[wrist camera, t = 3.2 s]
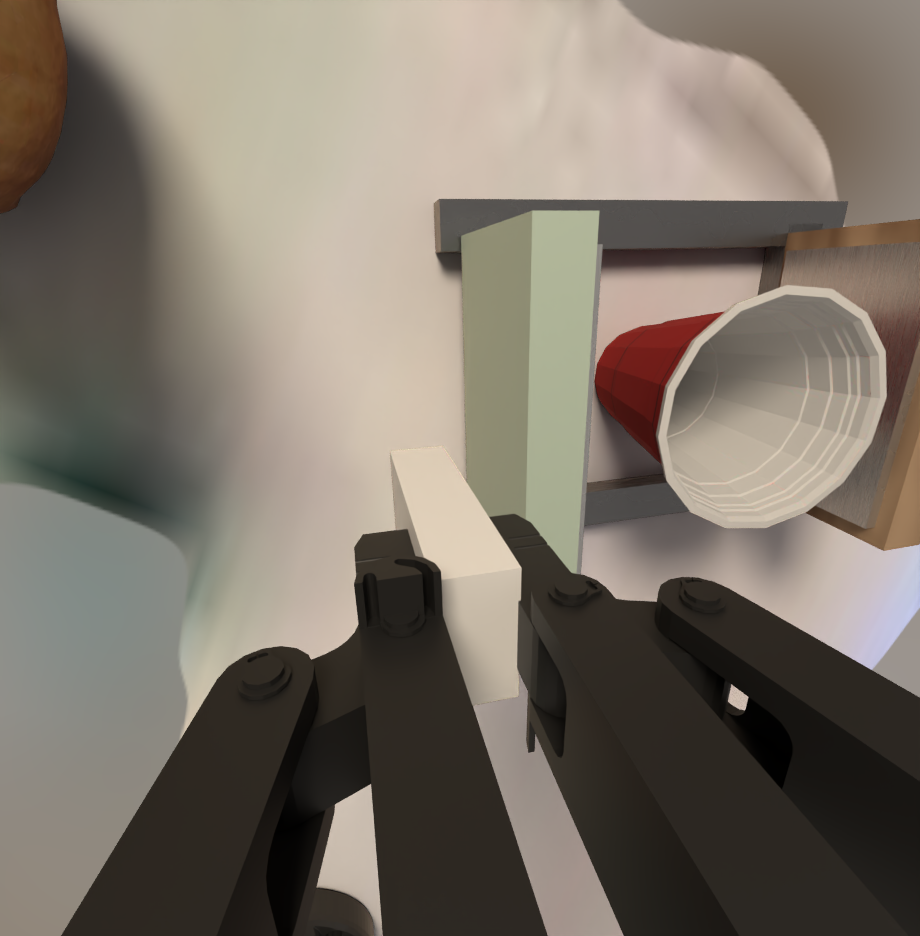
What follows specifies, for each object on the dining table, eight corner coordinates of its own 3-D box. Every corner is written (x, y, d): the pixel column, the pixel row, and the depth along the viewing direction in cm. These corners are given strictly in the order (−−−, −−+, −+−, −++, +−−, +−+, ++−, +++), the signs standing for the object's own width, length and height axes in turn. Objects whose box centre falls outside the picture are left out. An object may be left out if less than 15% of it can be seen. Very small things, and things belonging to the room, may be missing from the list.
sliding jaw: (467, 519, 31) (523, 617, 22) (461, 235, 26) (532, 210, 17) (513, 513, 32) (586, 606, 23) (517, 235, 26) (615, 210, 17)
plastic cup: (586, 260, 30) (736, 247, 19) (731, 309, 33) (932, 323, 22) (531, 437, 33) (633, 515, 22) (669, 465, 36) (818, 547, 25)
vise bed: (446, 533, 33) (499, 648, 23) (433, 203, 27) (500, 151, 16) (768, 490, 39) (931, 568, 28) (825, 204, 32) (1069, 167, 21)
